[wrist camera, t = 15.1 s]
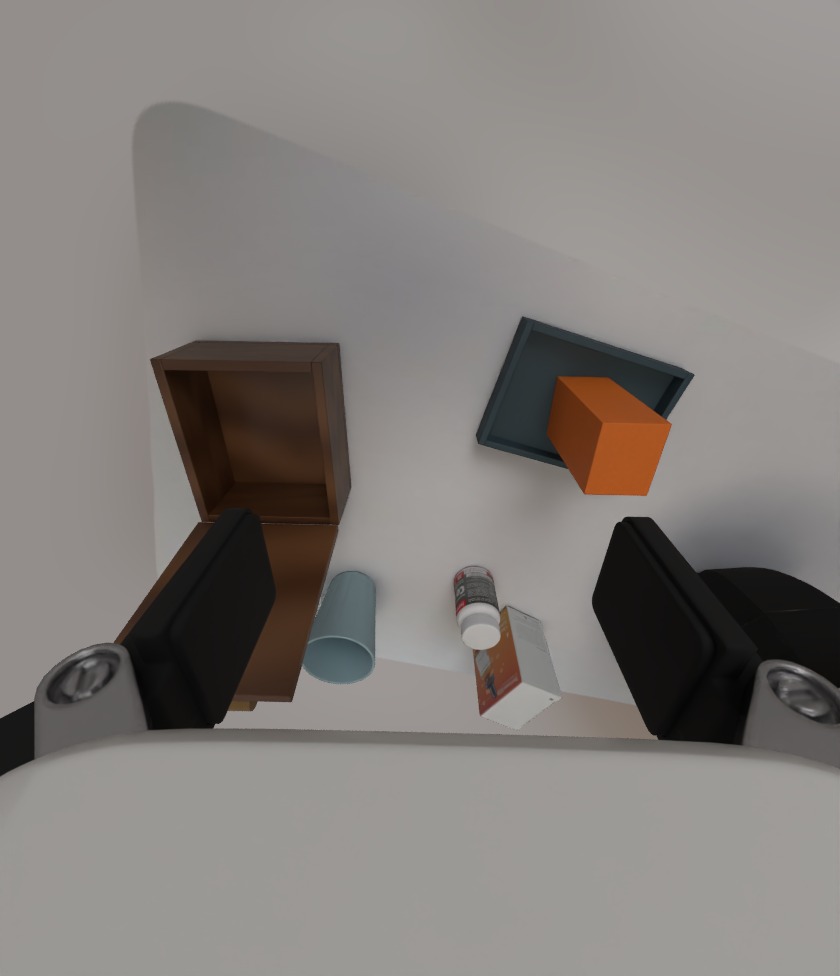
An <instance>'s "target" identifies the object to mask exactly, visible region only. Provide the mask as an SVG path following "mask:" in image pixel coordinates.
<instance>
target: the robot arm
mask: <svg viewBox="0 0 840 976" xmlns="http://www.w3.org/2000/svg"><path fill="white" fill-rule="evenodd" d="M275 598H276V587H275V582H274V578H273V574H272V569H271V565H270V561H269V556H268V552H267V547H266V543H265V539H264V534H263V530H262V526H261V521H260V518H259V516H258V515H257V514H253V512H252V510H251V509H249V508H226V509H225V510H224V511H223V512H222V514H221V515H220V516H219V517H218V519H217V520H216V521H215V523H214V524H213V525H212V526H211V528H210V529H209V530H208V532H207V533H206V534H205V536H204V537H203V538H202V539H201V541H200V542H199V543H198V545H197V546H196V547H195V548H194V550H193V551H192V552H191V554H190V555H189V556H188V557H187V559H186V560H185V561H184V563H183V564H182V565H181V566H180V567H179V569H178V570H177V571H176V573H175V574H174V575H173V576H172V578H171V579H170V580H169V582H168V583H167V584H166V585H165V587H164V588H163V589H162V591H161V592H160V593H159V594H158V596H157V597H156V598H155V600H154V601H153V602H152V604H151V605H150V606H149V607H148V609H147V610H146V611H145V613H144V614H143V615H142V616H141V618H140V619H139V620H138V622H137V623H136V624H135V625H134V627H133V628H132V629H131V631H130V632H129V633H128V634H127V636H126V637H125V638H124V640H123V641H122V642H121V644H116V643H102V644H96V645H92V646H90V647H87V648H84V649H81V650H79V651H77V652H75V653H73V654H71V655H70V656H68V657H66V658H65V659H63V660H62V661H61V662H59V663H58V664H57V665H55V666H54V667H53V668H52V669H51V670H50V671H49V672H48V673H47V674H46V675H45V676H44V677H43V679H42V681H41V682H40V684H39V685H38V687H37V690H36V694H35V699H34V702H32V703H30V704H28V705H26V706H24V707H22V708H20V709H18V710H16V711H14V712H12V713H10V714H8V715H6V716H4V717H3V718H0V976H840V690H839V689H838V688H837V687H836V686H835V685H833V684H832V683H831V682H829V681H828V680H827V679H825V678H824V677H822V676H821V675H819V674H817V673H816V672H814V671H812V670H810V669H808V668H806V667H804V666H801V665H798V664H796V663H793V662H789V661H784V660H779V659H778V660H767V661H765V662H764V661H763V660H762V659H761V658H760V656H759V655H758V654H757V653H756V651H757V650H758V648H757V647H756V645H755V644H754V643H753V642H752V640H751V639H750V638H749V637H748V636H747V634H746V633H745V632H744V631H743V629H742V628H741V627H740V626H739V625H738V623H737V622H736V621H735V620H734V618H733V617H732V616H731V615H730V614H729V612H728V611H727V610H726V609H725V607H724V606H723V605H722V604H721V603H720V601H719V600H718V599H717V598H716V596H715V595H714V594H713V593H712V591H711V590H710V589H709V588H708V587H707V585H706V584H705V583H704V582H703V580H702V579H701V578H700V577H699V576H698V574H697V573H696V572H695V571H694V569H693V568H692V567H691V566H690V565H689V563H688V562H687V561H686V560H685V558H684V557H683V556H682V555H681V554H680V552H679V551H678V550H677V549H676V547H675V546H674V545H673V544H672V543H671V541H670V540H669V539H668V538H667V536H666V535H665V534H664V533H663V531H662V530H661V529H660V528H659V527H658V525H657V524H656V523H655V522H654V520H652V519H651V518H649V517H625V518H624V519H623V520H622V522H618V523H617V524H616V525H615V527H614V531H613V534H612V537H611V540H610V543H609V546H608V549H607V552H606V556H605V559H604V562H603V565H602V568H601V571H600V574H599V577H598V581H597V584H596V587H595V590H594V593H593V597H592V605H593V609H594V612H595V614H596V616H597V619H598V621H599V623H600V625H601V627H602V630H603V632H604V634H605V636H606V638H607V641H608V643H609V645H610V647H611V649H612V652H613V654H614V656H615V658H616V661H617V663H618V665H619V667H620V669H621V672H622V674H623V676H624V678H625V680H626V683H627V685H628V687H629V689H630V692H631V694H632V696H633V698H634V700H635V703H636V705H637V707H638V709H639V711H640V714H641V716H642V718H643V720H644V723H645V725H646V727H647V729H648V731H649V732H650V733H651V734H652V735H657V737H658V740H648V739H624V738H623V739H622V738H594V737H562V736H531V735H499V734H496V735H495V734H462V733H425V732H387V731H341V730H295V729H213V728H214V725H215V724H219V723H221V722H222V721H223V719H224V717H225V715H226V713H227V711H228V709H229V706H230V704H231V702H232V699H233V697H234V695H235V692H236V690H237V688H238V685H239V683H240V681H241V679H242V676H243V674H244V672H245V669H246V667H247V665H248V662H249V660H250V658H251V655H252V653H253V651H254V648H255V646H256V644H257V642H258V639H259V637H260V635H261V632H262V630H263V628H264V625H265V623H266V621H267V618H268V616H269V614H270V612H271V609H272V607H273V605H274V602H275Z"/></svg>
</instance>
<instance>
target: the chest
mask: <svg viewBox="0 0 840 976" xmlns="http://www.w3.org/2000/svg"><path fill="white" fill-rule="evenodd" d="M150 361H151V364H152V367H153V370H154V373H155V377H156V380H157V383H158V386H159V389H160V392H161V395H162V398H163V402H164V405H165V408H166V411H167V414H168V417H169V420H170V423H171V427H172V430H173V433H174V436H175V439H176V442H177V445H178V448H179V452H180V455H181V458H182V461H183V464H184V467H185V470H186V473H187V477H188V480H189V483H190V486H191V489H192V492H193V495H194V498H195V502H196V505H197V508H198V511H199V514H200V517H201V520H202V522H215V521H216V520H217V519H218V517H219V516H220V515H221V514H222V512H223V511H224V510H225V509H226V508H249V509H251V510H252V512H253V514H257V515H258V516H259V518H260V521H261V523H272V524H317V525H330V524H331V525H339V523H340V520H341V517H342V514H343V511H344V508H345V505H346V502H347V499H348V496H349V492H350V489H351V478H350V466H349V454H348V442H347V430H346V419H345V407H344V395H343V383H342V372H341V360H340V348H339V343H299V342H244V341H194V342H192V343H189V344H186V345H184V346H181V347H179V348H176V349H174V350H172V351H169V352H167V353H164V354H162V355H159V356H157V357H154V358H152V359H150Z"/></svg>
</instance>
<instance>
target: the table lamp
mask: <svg viewBox="0 0 840 976" xmlns="http://www.w3.org/2000/svg"><path fill="white" fill-rule="evenodd" d="M698 576H699V577H700V578H701V579H702V580H703V582H704V583H705V584H706V585H707V587H708V588H709V589H710V590H711V591H712V593H713V594H714V595H715V596H716V598H717V599H718V600H719V601H720V603H721V604H722V605H723V606H724V607H725V609H726V610H727V611H728V612H729V614H730V615H731V616H732V617H733V618H734V620H735V621H736V622H737V623H738V625H739V626H740V627H741V628H742V629H743V631H744V632H745V633H746V634H747V636H748V637H749V638H750V639H751V640H752V642H753V643H754V644H755V645H756V647H757V648H758V650H757V651H756V653H757V654H758V655H759V656H760V658H761V659H762V660H763V661H764V662H765V661H767V660H778V659H779V660H784V661H789V662H793V663H796V664H798V665H801V666H804V667H806V668H808V669H810V670H812V671H814V672H816V673H817V674H819V675H821V676H822V677H824V678H825V679H827V680H828V681H829V682H831V683H832V684H833V685H835V686H836V687H837V688H838V689H839V690H840V603H838V602H837V601H835V600H834V599H832V598H831V597H829V596H828V595H826V594H825V593H823V592H821V591H820V590H818V589H816V588H815V587H813V586H811V585H809V584H807V583H805V582H803V581H801V580H799V579H797V578H794V577H792V576H790V575H787V574H784V573H781V572H778V571H775V570H771V569H766V568H756V567H742V568H727V569H713V570H704V571H703V572H701V573H700V574H698Z"/></svg>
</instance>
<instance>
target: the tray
mask: <svg viewBox="0 0 840 976" xmlns="http://www.w3.org/2000/svg"><path fill="white" fill-rule="evenodd" d="M557 376H566V377H608V378H610V379H611V380H612V381H614V382H615V383H616V384H618V385H619V386H621V387H622V388H623V389H625V390H626V391H627V392H629V393H630V394H631V395H633V396H634V397H635V398H637V399H638V400H640V401H641V402H642V403H644V404H645V405H646V406H648V407H649V408H650V409H652V410H653V411H655V412H656V413H657V414H659V415H660V416H661V417H663V418H664V419H665V420H666V419H667V417H668V416H669V414H670V413H671V411H672V410H673V408H674V407H675V405H676V403H677V402H678V400H679V399H680V397H681V396H682V394H683V392H684V391H685V389H686V388H687V386H688V385H689V383H690V381H691V380H692V378H693V377H694V374H692V373H690V372H688V371H686V370H684V369H682V368H679V367H676V366H673V365H670V364H667V363H664V362H661V361H658V360H655V359H652V358H649V357H645V356H642V355H639V354H636V353H633V352H630V351H627V350H624V349H621V348H618V347H615V346H612V345H609V344H606V343H602V342H599V341H596V340H593V339H590V338H587V337H584V336H581V335H578V334H575V333H572V332H569V331H566V330H563V329H559V328H556V327H553V326H550V325H547V324H544V323H541V322H538V321H535V320H532V319H529V318H526V317H522V319H521V321H520V324H519V326H518V329H517V331H516V334H515V337H514V339H513V342H512V344H511V347H510V349H509V352H508V354H507V357H506V360H505V362H504V365H503V367H502V370H501V372H500V375H499V377H498V380H497V383H496V385H495V388H494V390H493V393H492V395H491V398H490V400H489V403H488V406H487V408H486V411H485V413H484V416H483V418H482V421H481V423H480V426H479V429H478V431H477V434H476V437H477V441H478V444H481V445H484V446H487V447H491V448H495V449H498V450H502V451H505V452H509V453H513V454H516V455H520V456H523V457H527V458H531V459H534V460H538V461H541V462H545V463H548V464H552V465H556V466H559V467H563V468H566V469H568V467H567V466H566V464H565V462H564V461H563V459H562V458H561V456H560V454H559V453H558V451H557V450H556V448H555V446H554V445H553V443H552V442H551V440H550V438H549V437H548V435H547V429H548V423H549V418H550V412H551V407H552V402H553V396H554V391H555V386H556V380H557Z"/></svg>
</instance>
